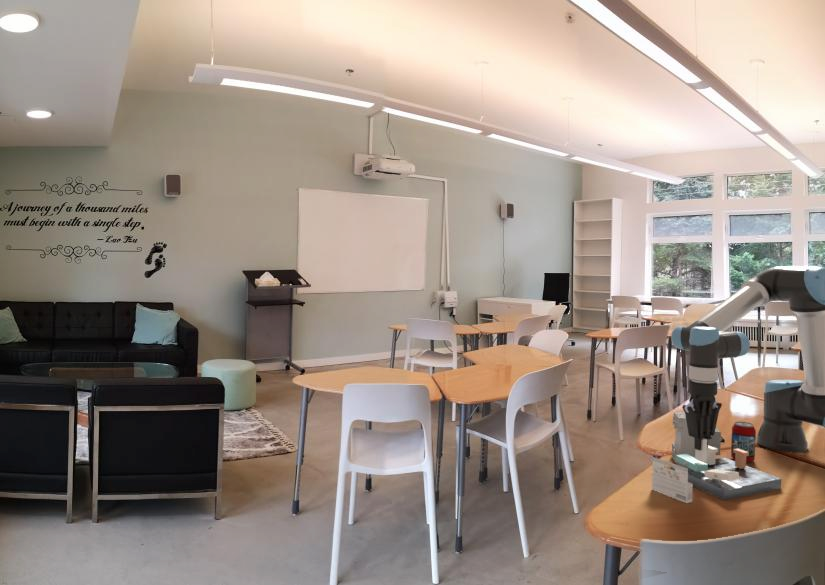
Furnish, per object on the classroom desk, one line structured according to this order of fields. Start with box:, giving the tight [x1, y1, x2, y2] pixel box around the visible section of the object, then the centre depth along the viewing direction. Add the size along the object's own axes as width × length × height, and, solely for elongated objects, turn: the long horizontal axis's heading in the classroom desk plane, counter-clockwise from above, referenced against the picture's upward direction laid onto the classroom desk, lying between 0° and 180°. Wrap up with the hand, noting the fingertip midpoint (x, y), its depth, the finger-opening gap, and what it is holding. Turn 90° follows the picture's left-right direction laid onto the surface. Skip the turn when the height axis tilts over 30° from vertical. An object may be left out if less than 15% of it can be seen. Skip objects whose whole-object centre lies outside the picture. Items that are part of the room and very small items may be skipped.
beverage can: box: [730, 421, 757, 464], centre depth 191 cm, size 7×7×12 cm
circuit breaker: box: [671, 411, 726, 465], centre depth 189 cm, size 8×14×15 cm, turn 78°
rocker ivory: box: [704, 469, 740, 481], centre depth 164 cm, size 5×8×2 cm, turn 21°
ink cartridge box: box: [651, 456, 693, 504], centre depth 162 cm, size 2×11×10 cm, turn 32°
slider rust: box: [733, 449, 749, 469], centre depth 175 cm, size 2×4×5 cm, turn 21°
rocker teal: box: [676, 454, 708, 472], centre depth 174 cm, size 5×8×2 cm, turn 21°
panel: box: [669, 457, 782, 501], centre depth 172 cm, size 22×20×3 cm
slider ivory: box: [705, 445, 718, 465], centre depth 178 cm, size 2×4×5 cm, turn 21°
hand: (700, 460), depth 171 cm, fingers closed
